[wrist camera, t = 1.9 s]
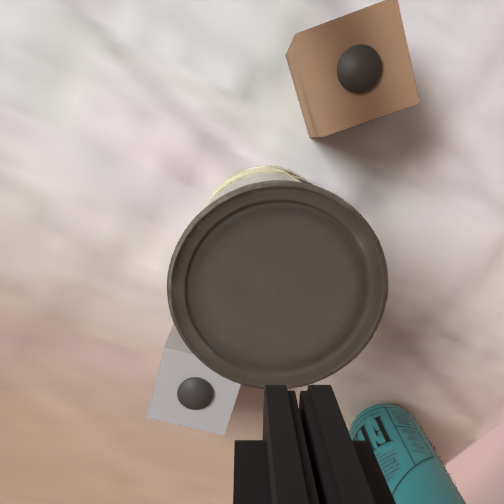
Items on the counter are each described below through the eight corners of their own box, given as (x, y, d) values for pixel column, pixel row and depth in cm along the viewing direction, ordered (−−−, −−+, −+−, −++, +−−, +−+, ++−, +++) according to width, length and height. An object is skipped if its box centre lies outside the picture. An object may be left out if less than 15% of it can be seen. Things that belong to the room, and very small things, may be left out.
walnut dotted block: (366, 25, 28) (397, -6, 22) (386, 110, 30) (421, 102, 24) (285, 55, 29) (295, 33, 23) (309, 137, 30) (324, 136, 24)
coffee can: (346, 184, 31) (423, 216, 18) (306, 302, 34) (346, 410, 20) (217, 147, 30) (195, 152, 17) (187, 272, 33) (145, 363, 19)
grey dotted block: (246, 329, 35) (246, 369, 29) (227, 388, 36) (224, 437, 30) (178, 312, 34) (163, 348, 28) (162, 372, 35) (145, 419, 30)
